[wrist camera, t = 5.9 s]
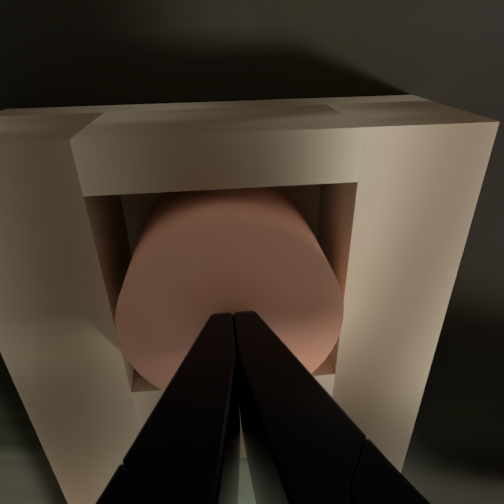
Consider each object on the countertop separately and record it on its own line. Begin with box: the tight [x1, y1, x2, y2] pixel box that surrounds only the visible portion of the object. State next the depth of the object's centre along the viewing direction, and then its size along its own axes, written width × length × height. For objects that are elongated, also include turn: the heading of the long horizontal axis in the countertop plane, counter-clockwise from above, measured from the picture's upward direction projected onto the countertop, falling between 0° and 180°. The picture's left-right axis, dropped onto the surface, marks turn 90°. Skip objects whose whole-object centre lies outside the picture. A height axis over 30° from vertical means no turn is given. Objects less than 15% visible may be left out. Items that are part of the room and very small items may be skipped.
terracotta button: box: [115, 186, 344, 391], centre depth 9 cm, size 4×4×3 cm
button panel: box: [0, 95, 499, 504], centre depth 14 cm, size 10×23×4 cm, turn 1°
